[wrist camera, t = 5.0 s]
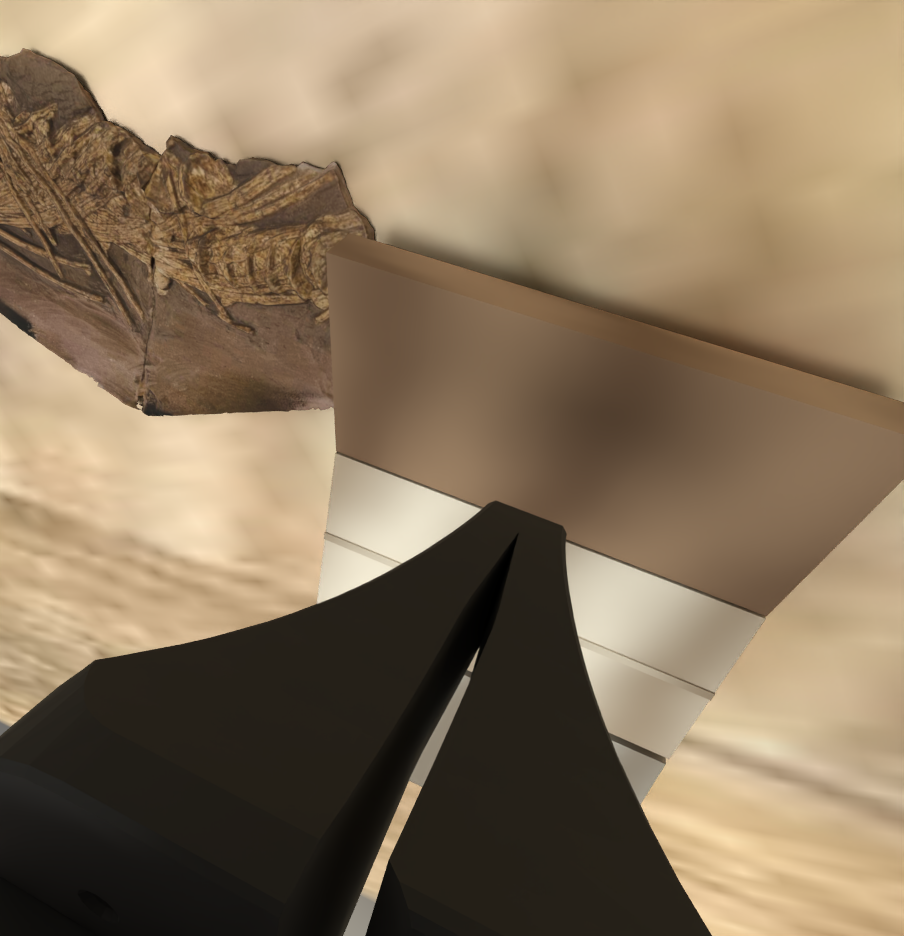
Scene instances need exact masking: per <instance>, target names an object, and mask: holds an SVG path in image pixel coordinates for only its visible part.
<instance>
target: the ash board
mask: <svg viewBox="0 0 904 936" xmlns="http://www.w3.org/2000/svg"><path fill="white" fill-rule="evenodd" d="M482 508H483V507H481V506H478V505H476V504H473V503H470V502H468V501H465V500H463V499H460V498H457V497H455V496H452V495H450V494H447V493H444V492H442V491H439V490H437V489H434V488H431V487H429V486H426V485H423V484H421V483H418V482H416V481H413V480H410V479H408V478H405V477H403V476H400V475H397V474H395V473H392V472H390V471H387V470H384V469H382V468H379V467H377V466H374V465H371V464H369V463H366V462H364V461H361V460H358V459H356V458H353V457H351V456H348V455H345V454H343V453H340V452H336V453H335V461H334V469H333V477H332V485H331V493H330V501H329V509H328V517H327V525H326V532H325V534H324V539H325V541H324V549H323V557H322V565H321V574H320V582H319V590H318V598H317V604H318V603H321V602H323V601H326V600H328V599H331V598H333V597H336V596H338V595H340V594H342V593H345V592H347V591H349V590H351V589H354V588H356V587H358V586H360V585H362V584H364V583H366V582H369V581H371V580H372V579H374V578H376V577H378V576H380V575H382V574H384V573H386V572H388V571H390V570H391V569H393V568H395V567H397V566H398V565H400V564H402V563H404V562H405V561H407V560H409V559H411V558H413V557H414V556H416V555H418V554H419V553H421V552H423V551H424V550H426V549H427V548H429V547H430V546H432V545H433V544H435V543H436V542H438V541H439V540H441V539H442V538H444V537H445V536H447V535H448V534H450V533H451V532H453V531H454V530H456V529H457V528H458V527H460V526H461V525H462V524H464V523H465V522H466V521H468V520H469V519H470V518H472V517H473V516H474V515H475V514H477V513H478V512H479V511H480V510H481V509H482ZM566 566H567V577H568V585H569V592H570V597H571V603H572V609H573V615H574V620H575V625H576V629H577V634H578V638H579V642H580V646H581V650H582V654H583V658H584V661H585V665H586V668H587V672H588V675H589V679H590V682H591V685H592V688H593V691H594V694H595V697H596V700H597V703H598V706H599V709H600V711H601V714H602V717H603V720H604V722H605V725H606V728H607V730H608V732H609V733H611V734H613V735H616V736H618V737H620V738H622V739H625V740H627V741H629V742H631V743H634V744H636V745H638V746H640V747H643V748H645V749H647V750H650V751H652V752H654V753H656V754H659V755H661V756H663V757H665V758H668V759H670V757H671V756H672V754H673V753H674V751H675V750H676V748H677V747H678V746H679V744H680V743H681V741H682V740H683V738H684V737H685V735H686V734H687V732H688V731H689V730H690V728H691V727H692V725H693V724H694V722H695V721H696V719H697V718H698V716H699V715H700V714H701V712H702V711H703V709H704V708H705V706H706V705H707V703H708V702H709V700H711V699H712V698H713V696H714V695H715V692H716V690H717V689H718V687H719V686H720V684H721V683H722V682H723V680H724V679H725V677H726V676H727V674H728V673H729V671H730V670H731V668H732V667H733V666H734V664H735V663H736V661H737V660H738V658H739V657H740V655H741V654H742V652H743V651H744V650H745V648H746V647H747V645H748V644H749V642H750V641H751V639H752V638H753V637H754V635H755V634H756V632H757V631H758V629H759V628H760V626H761V625H762V623H763V622H764V621H765V616H764V615H762V614H759V613H757V612H754V611H751V610H749V609H746V608H744V607H741V606H738V605H736V604H733V603H731V602H728V601H725V600H723V599H720V598H718V597H715V596H712V595H710V594H707V593H705V592H702V591H699V590H697V589H694V588H692V587H689V586H686V585H684V584H681V583H679V582H676V581H673V580H671V579H668V578H665V577H663V576H660V575H658V574H655V573H652V572H650V571H647V570H645V569H642V568H639V567H637V566H634V565H632V564H629V563H626V562H624V561H621V560H619V559H616V558H613V557H611V556H608V555H606V554H603V553H600V552H598V551H595V550H593V549H590V548H587V547H585V546H582V545H580V544H577V543H574V542H572V541H569V540H567V539H566ZM478 651H479V649H478ZM478 651H477V652H476V654H475V656H474V658H473V660H472V662H471V664H470V666H469V667H468V669H467V670H468V671H471V672H472V671H473V668H474V664H475V661H476V658H477V654H478Z"/></svg>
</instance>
